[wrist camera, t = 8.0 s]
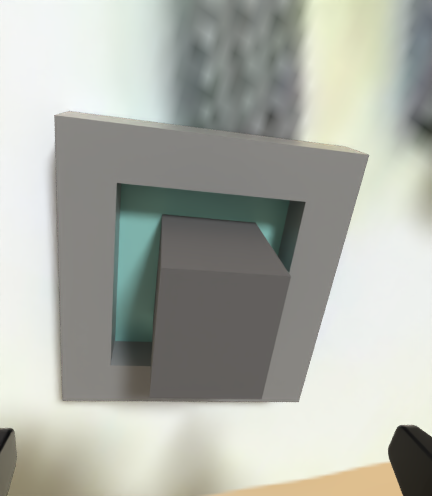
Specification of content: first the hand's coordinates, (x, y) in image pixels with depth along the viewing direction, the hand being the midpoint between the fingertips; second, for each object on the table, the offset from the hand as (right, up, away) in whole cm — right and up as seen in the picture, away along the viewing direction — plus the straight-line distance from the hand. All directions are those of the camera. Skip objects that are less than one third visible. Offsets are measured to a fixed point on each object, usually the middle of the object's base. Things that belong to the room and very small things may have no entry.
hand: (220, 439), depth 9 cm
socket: (-1, +4, +8) cm, 9 cm away
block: (-1, +3, +8) cm, 9 cm away
